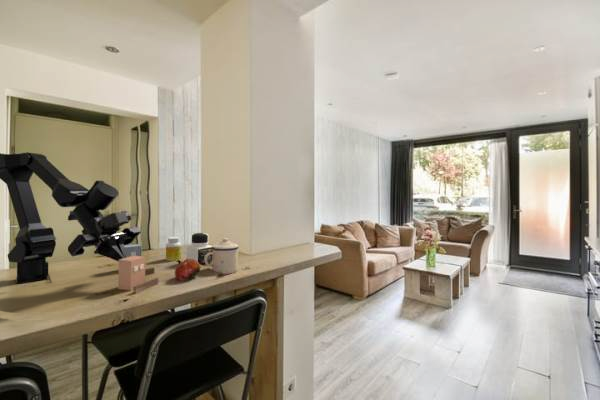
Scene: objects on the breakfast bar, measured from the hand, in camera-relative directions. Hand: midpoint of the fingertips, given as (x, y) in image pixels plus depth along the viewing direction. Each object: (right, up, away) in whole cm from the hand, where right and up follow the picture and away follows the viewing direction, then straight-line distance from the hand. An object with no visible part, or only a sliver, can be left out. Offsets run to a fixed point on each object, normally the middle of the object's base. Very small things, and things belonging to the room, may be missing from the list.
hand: (125, 262), depth 77 cm
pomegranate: (+14, -8, +9) cm, 19 cm away
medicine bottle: (+10, -8, +29) cm, 32 cm away
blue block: (-9, -6, +17) cm, 20 cm away
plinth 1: (-6, -7, +14) cm, 17 cm away
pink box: (+2, -7, 0) cm, 7 cm away
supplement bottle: (-1, -7, +32) cm, 33 cm away
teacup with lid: (+21, -8, +20) cm, 30 cm away
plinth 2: (+2, -8, 0) cm, 8 cm away
